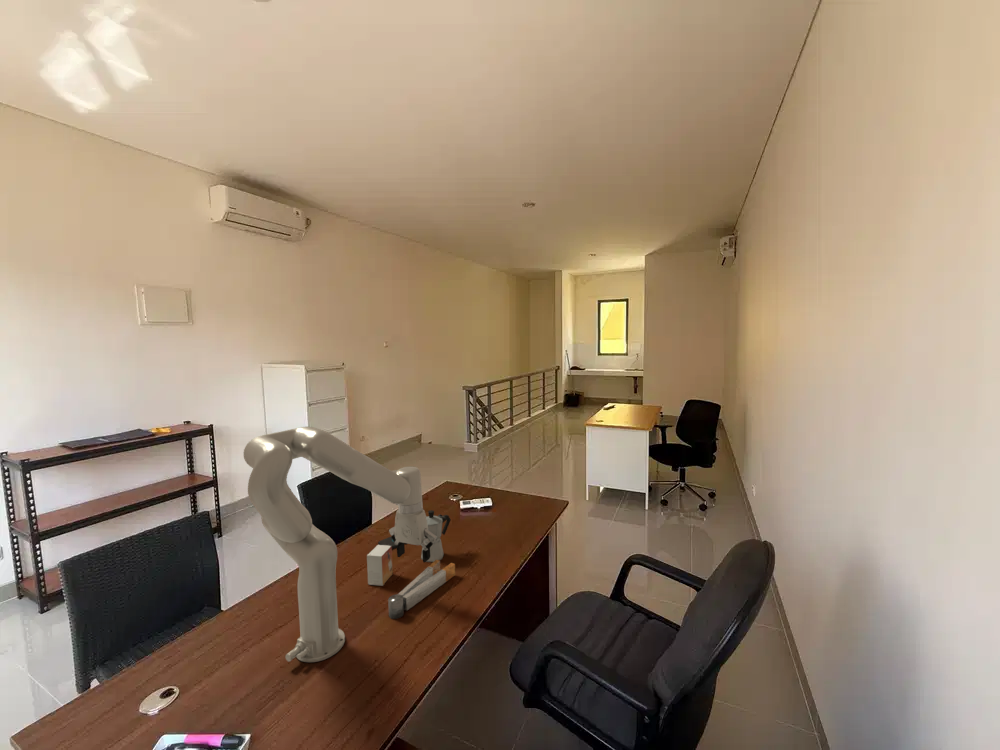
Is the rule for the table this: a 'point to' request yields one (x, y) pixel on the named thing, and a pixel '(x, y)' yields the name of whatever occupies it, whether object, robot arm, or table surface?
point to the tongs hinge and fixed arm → (397, 600)
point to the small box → (379, 565)
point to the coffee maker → (436, 534)
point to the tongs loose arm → (428, 586)
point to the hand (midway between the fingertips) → (413, 557)
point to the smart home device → (388, 542)
